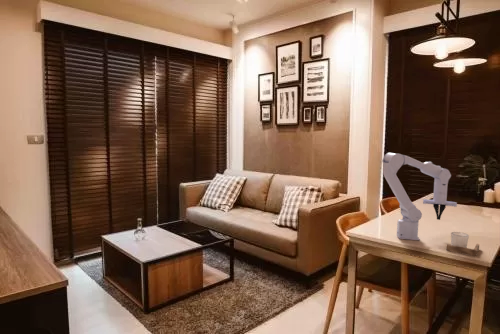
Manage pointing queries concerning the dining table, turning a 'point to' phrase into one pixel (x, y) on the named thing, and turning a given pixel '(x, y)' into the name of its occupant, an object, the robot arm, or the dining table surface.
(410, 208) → the robot arm
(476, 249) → the corner stop
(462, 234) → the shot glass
